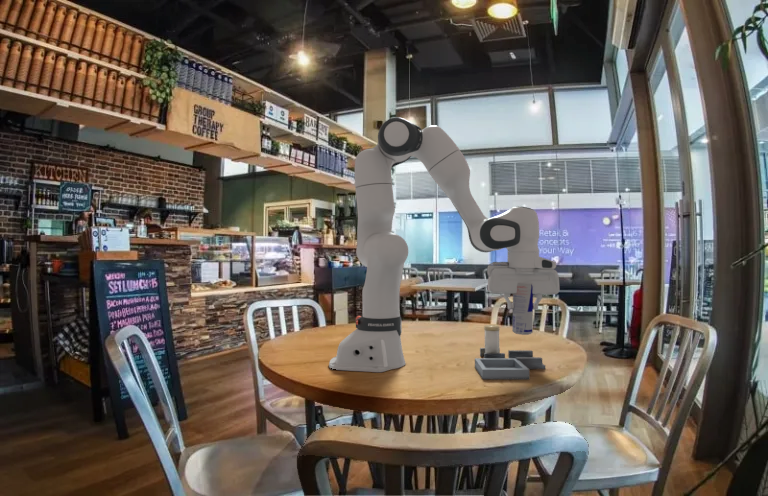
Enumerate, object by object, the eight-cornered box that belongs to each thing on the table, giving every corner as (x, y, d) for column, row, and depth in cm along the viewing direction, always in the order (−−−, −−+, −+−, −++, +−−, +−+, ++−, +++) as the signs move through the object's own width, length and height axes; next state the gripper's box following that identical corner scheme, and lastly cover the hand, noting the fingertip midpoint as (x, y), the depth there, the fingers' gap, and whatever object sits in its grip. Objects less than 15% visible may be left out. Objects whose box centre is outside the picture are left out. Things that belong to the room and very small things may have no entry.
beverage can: (534, 335, 123) (534, 283, 123) (513, 334, 124) (514, 282, 124) (530, 331, 128) (531, 281, 128) (511, 331, 129) (512, 281, 129)
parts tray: (482, 379, 112) (482, 369, 112) (474, 367, 124) (474, 358, 124) (529, 379, 111) (529, 369, 111) (517, 367, 123) (517, 358, 123)
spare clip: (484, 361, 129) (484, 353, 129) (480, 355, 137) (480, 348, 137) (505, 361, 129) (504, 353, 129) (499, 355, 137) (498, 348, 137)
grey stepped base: (517, 369, 121) (517, 358, 121) (508, 360, 131) (508, 350, 131) (545, 369, 121) (545, 358, 121) (534, 360, 131) (534, 350, 131)
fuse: (486, 360, 131) (485, 327, 131) (483, 356, 136) (482, 325, 136) (501, 360, 131) (501, 327, 131) (498, 356, 135) (497, 325, 136)
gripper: (489, 261, 124) (489, 309, 123) (561, 262, 123) (561, 311, 123) (485, 261, 130) (484, 307, 130) (554, 262, 129) (553, 308, 129)
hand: (522, 309), depth 126 cm, fingers closed on beverage can, 5 cm apart
